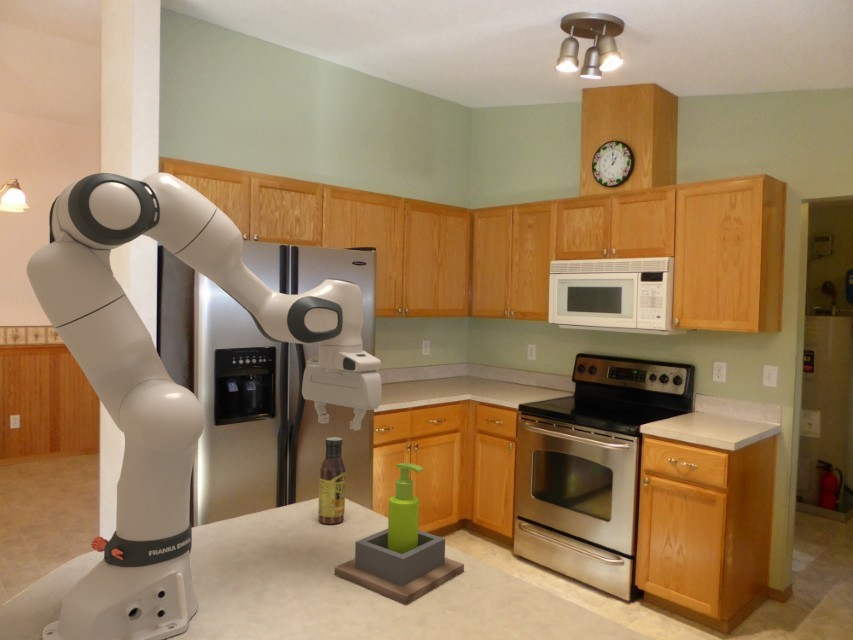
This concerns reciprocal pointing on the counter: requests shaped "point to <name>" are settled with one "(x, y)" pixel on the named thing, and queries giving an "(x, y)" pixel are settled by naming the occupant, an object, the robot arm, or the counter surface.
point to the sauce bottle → (332, 484)
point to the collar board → (399, 567)
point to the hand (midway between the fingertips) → (339, 426)
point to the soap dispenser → (403, 513)
